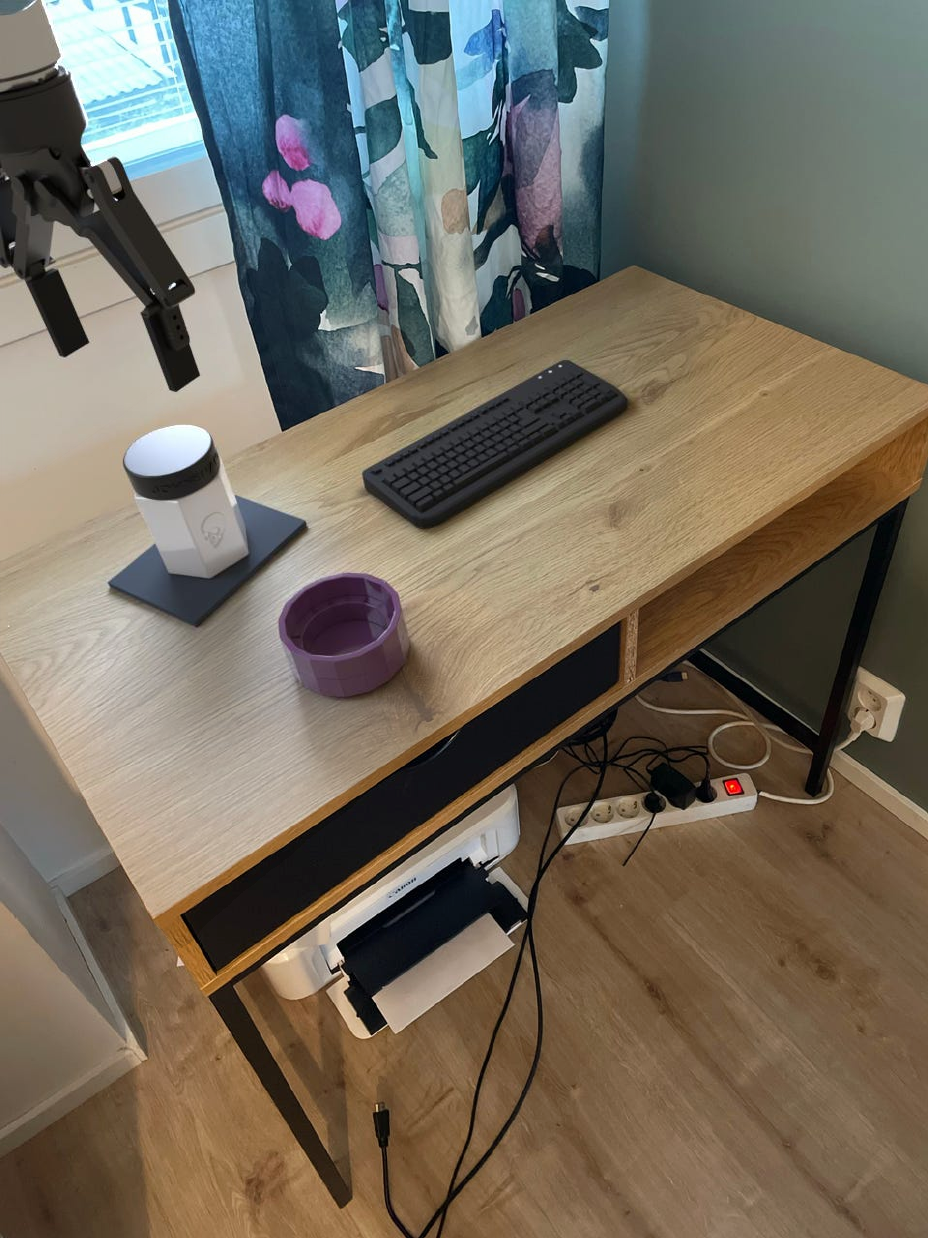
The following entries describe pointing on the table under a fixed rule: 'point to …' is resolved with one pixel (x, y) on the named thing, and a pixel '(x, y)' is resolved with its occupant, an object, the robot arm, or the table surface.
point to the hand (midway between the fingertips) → (127, 365)
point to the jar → (186, 500)
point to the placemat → (204, 595)
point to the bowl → (344, 634)
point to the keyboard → (493, 444)
